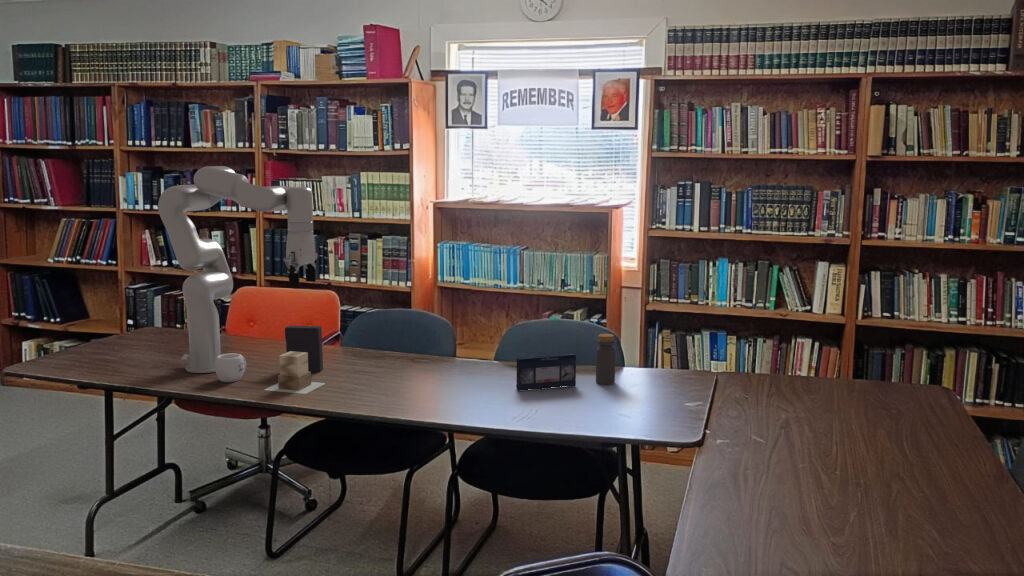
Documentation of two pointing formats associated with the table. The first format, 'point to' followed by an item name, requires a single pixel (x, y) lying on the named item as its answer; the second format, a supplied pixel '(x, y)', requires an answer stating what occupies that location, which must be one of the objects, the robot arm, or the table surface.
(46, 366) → the table surface
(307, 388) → the board
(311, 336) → the black upright slab
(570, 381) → the vhs cassette tape
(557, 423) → the table surface
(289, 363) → the maple cube
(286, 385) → the walnut block
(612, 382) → the bottle
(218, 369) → the mug
